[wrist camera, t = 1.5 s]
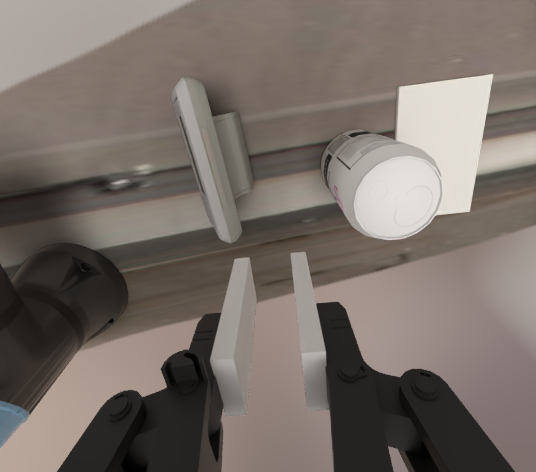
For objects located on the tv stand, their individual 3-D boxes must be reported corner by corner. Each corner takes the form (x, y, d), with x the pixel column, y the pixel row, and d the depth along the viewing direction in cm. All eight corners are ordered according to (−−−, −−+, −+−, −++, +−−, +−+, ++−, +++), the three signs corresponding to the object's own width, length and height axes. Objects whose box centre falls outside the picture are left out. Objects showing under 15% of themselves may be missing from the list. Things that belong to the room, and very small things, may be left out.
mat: (390, 218, 40) (391, 219, 40) (397, 87, 33) (399, 86, 33) (466, 210, 39) (469, 211, 39) (489, 74, 33) (493, 74, 32)
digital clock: (173, 82, 34) (133, 75, 24) (252, 82, 34) (243, 75, 24) (189, 215, 41) (163, 251, 31) (255, 215, 40) (249, 252, 31)
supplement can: (398, 145, 36) (474, 173, 22) (363, 204, 39) (410, 260, 26) (340, 117, 35) (382, 128, 21) (308, 180, 38) (328, 225, 24)
